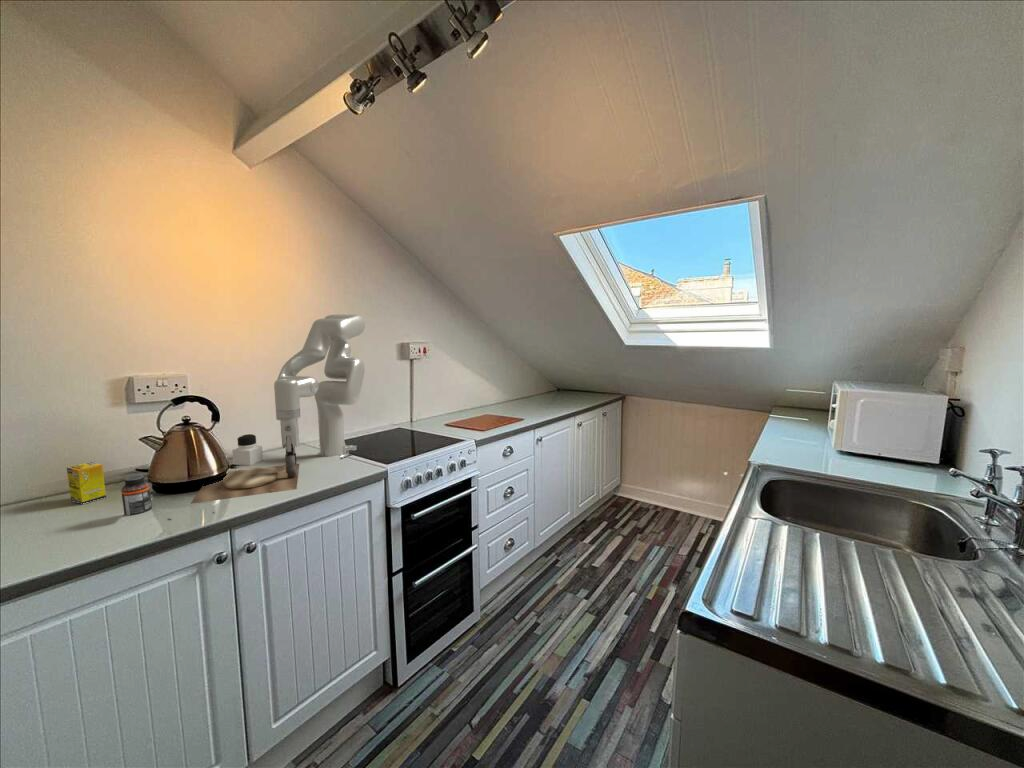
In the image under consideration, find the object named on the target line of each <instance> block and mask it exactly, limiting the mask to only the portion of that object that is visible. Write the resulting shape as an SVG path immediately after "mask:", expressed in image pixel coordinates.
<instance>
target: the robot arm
mask: <svg viewBox="0 0 1024 768" xmlns="http://www.w3.org/2000/svg"><path fill="white" fill-rule="evenodd" d="M365 327H366V323H365V319H364V318H363V317H362V316H361V315H359V314H328V315H326V316H324V318H318V319H316V320H314V322H313V323H312V324H311V327H310V329H309V332H308V334H307V336H306V339H305V342H304V344H303V347H302V349H301V350H299V351H298V352H297V353H295V354H294V355H293V356H291V357H290V358H289V359H288V360H287V361H286V362H285V363H284V365H282V367H281V370H280V371H279V374H278V376H277V378H276V380H275V381H274V384H273V388H274V389H273V390H274V403H275V404H274V405H275V420H277V421H280V438H281V445H282V448H283V449H285V457H286V456H289V455H295V465H296V464H297V452H296V448H298V447H299V445H300V435H299V433H300V431H299V423H298V422H299V421H298V420H299V419H301V406H300V405H301V402H300V398H310V397H313V396H314V401H315V403H316V408H317V417H318V437H319V438H318V441H319V452H317V454H316V456H322V457H336V456H339V458H340V459H341V458H342V459H345V458H346V456H347V457H349V455H350V452H349V451H357V445H353V444H350V445H347V444H346V442H345V426H344V424H345V423H344V412H343V410H342V408H341V406H340V405H343V406H345V405H346V406H350V405H354V404H356V403H357V401H358V400H359V398H360V394H361V389H362V385H363V381H364V377H365V364H364V362H363V360H362V359H361V358H359V357H356V356H351V354H352V353H351V352H352V346H351V344H350V343H349V341H348V340H350V339H353V338H355V337H358V336H360V335H361V334H363V332H364V330H365ZM325 359H326V361H325V365H324V373H323V374H324V375H325V377H326V378H328V379H331V380H322V381H320V382H318V381H319V380H317V379H316V378H314V377H312V376H309V375H308V376H307V375H305V376H304V375H303V376H301V375H298V374H299V372H300V371H302V370H304V369H306V368H307V367H310V366H313V365H315V364H317V363H320V362H322V361H324V360H325ZM340 380H341V381H340ZM345 380H346V381H345ZM285 457H284V458H285ZM344 457H345V458H344Z"/></svg>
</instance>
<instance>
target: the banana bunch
mask: <svg viewBox="0 0 1024 768" xmlns="http://www.w3.org/2000/svg"><path fill="white" fill-rule="evenodd" d="M284 460H285V465H286V471H282V472H279V471H278V470H277V469H275V468H268V467H269V466H267V467H263V466H262V467H251V468H247V469H240V470H241V471H238V470H236V471H237V472H234V473H231V474H229V475H227V476H225V477H224V478H223V485H224V486H225V487H227V488H232V489H243V488H251V487H257V486H261V485H265V484H268V483H270V482H273V481H275V480H276V479H278V478H289V477H295V476H296V466H295V455H289V456H286V457H284Z"/></svg>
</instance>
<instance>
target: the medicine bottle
mask: <svg viewBox="0 0 1024 768" xmlns="http://www.w3.org/2000/svg"><path fill="white" fill-rule="evenodd" d="M256 437H257V436H256V435H255V434H249V433H248V434H241V435H239V436H238V437H237V438H236V439H237V440H236V441H237V448H235V449H232V450H231V451H232V452H231V453H232V464H233V465H235V466H236V465H238V466H239V465H240V466H252V465H254V464H256V463H258V462H263V461H264V457H263V456H264V454H263V446H262V445H257V438H256Z"/></svg>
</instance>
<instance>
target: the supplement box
mask: <svg viewBox="0 0 1024 768" xmlns="http://www.w3.org/2000/svg"><path fill="white" fill-rule="evenodd" d="M66 474H67V480H68V481H67V482H68V486H69V487H68V489H69V494H70V502H72V501H75V502H74V503H76V502H79V503H78V504H80V503H82V504H81V505H84V504H83V503H86V502H90V501H93V500H96V501H98V500H97V499H100V498H103V499H105V498H104V497H106V498H107V494H106V486H105V478H104V467H103V464H101V463H95V462H92V461H89V462H83V463H81V464H75V465H72V466H68V467H66ZM100 500H101V499H100ZM93 502H94V501H93ZM90 503H91V502H90ZM86 504H87V503H86Z"/></svg>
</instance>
